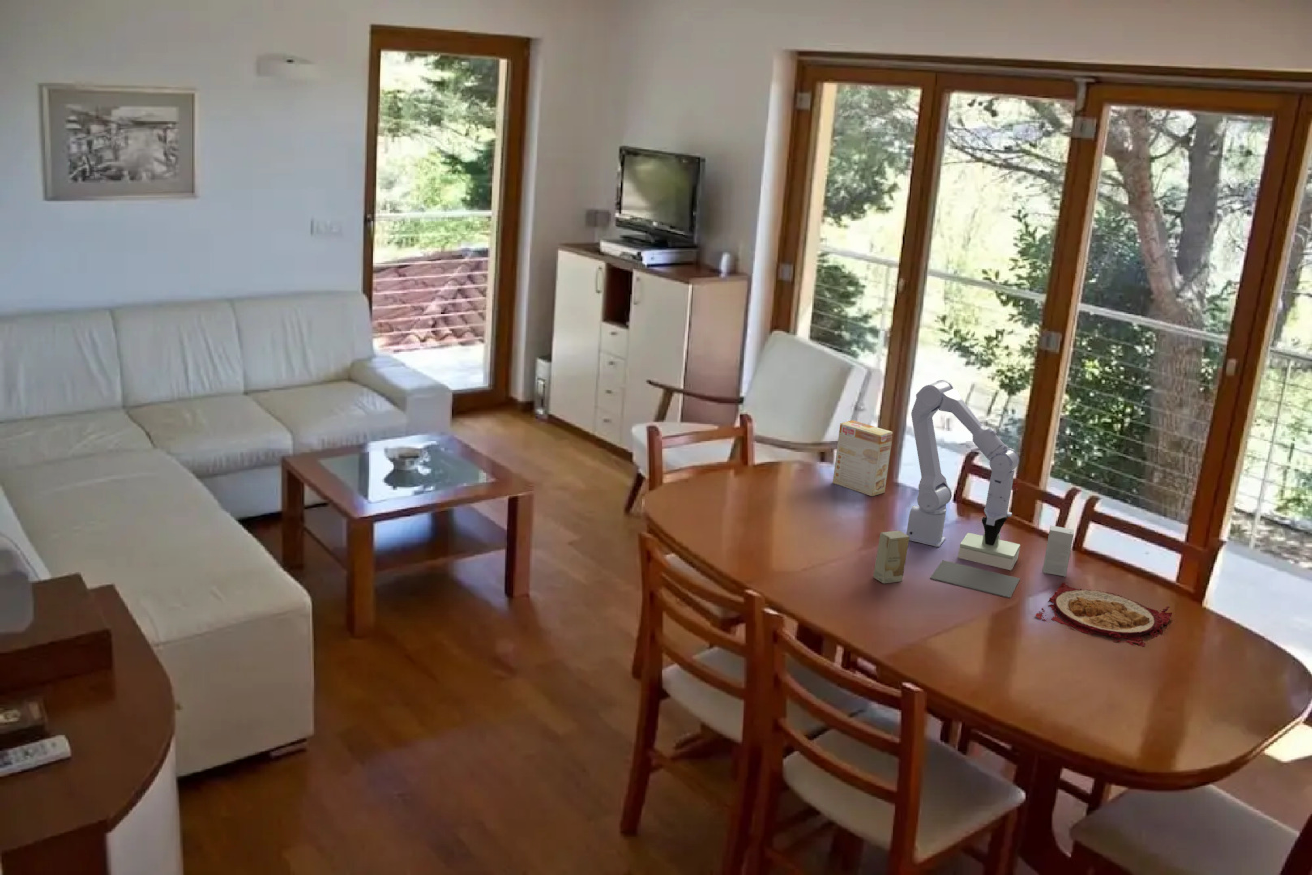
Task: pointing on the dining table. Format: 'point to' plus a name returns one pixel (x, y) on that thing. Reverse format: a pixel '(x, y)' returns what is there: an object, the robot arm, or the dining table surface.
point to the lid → (998, 548)
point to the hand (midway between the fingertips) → (990, 542)
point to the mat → (975, 579)
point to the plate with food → (1106, 614)
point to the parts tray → (987, 558)
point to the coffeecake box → (862, 457)
